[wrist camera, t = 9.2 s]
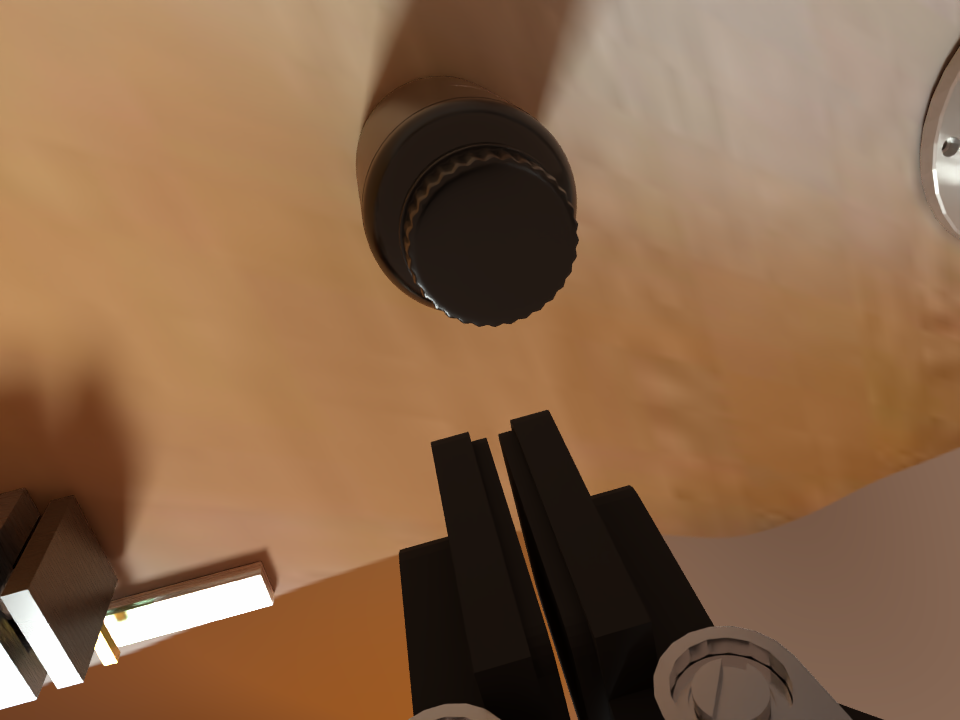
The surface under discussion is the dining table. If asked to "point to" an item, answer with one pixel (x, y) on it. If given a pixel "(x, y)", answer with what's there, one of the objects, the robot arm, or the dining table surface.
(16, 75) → the dining table surface
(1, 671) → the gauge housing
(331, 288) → the dining table surface
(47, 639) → the plunger
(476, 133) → the supplement bottle
